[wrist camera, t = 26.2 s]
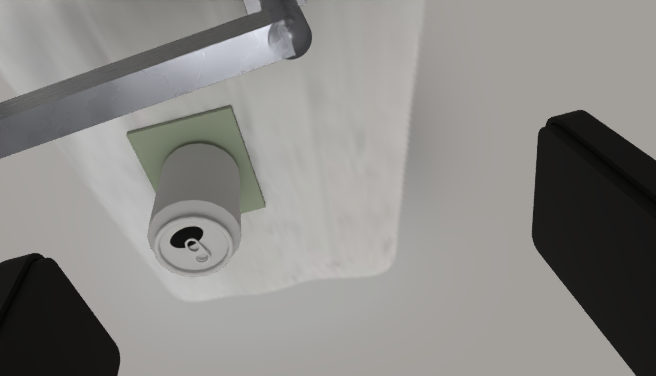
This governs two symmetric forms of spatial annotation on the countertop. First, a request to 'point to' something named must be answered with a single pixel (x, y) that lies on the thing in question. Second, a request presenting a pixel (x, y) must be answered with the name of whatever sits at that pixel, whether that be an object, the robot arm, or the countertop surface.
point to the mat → (197, 129)
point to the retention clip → (154, 76)
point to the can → (196, 211)
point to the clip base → (254, 6)
